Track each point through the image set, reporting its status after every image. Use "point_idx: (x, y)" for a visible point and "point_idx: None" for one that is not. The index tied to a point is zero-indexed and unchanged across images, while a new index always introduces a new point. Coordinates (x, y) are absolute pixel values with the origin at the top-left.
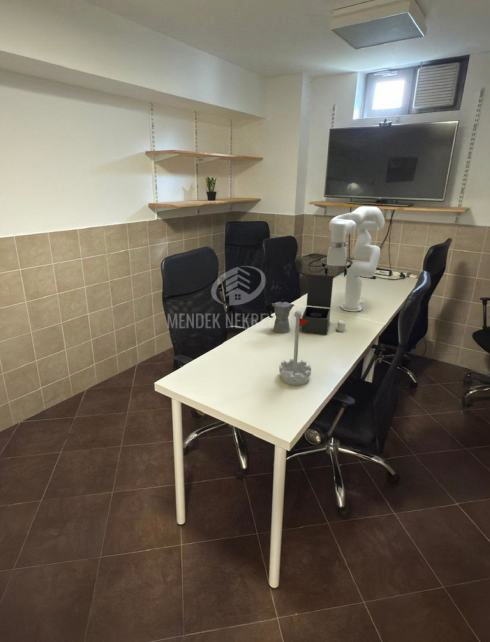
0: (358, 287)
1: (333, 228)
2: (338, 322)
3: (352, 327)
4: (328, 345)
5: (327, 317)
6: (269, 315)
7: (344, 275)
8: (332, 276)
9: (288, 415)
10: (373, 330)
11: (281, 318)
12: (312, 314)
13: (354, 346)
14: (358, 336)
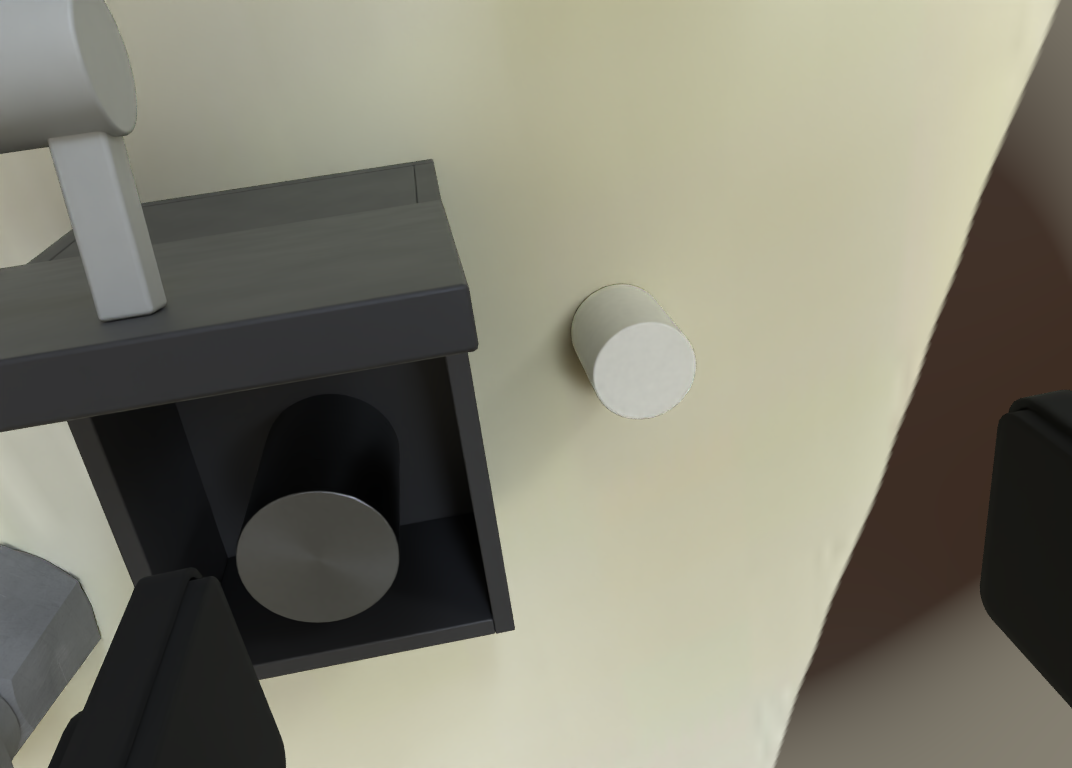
0: None
1: None
2: (606, 407)
3: (736, 182)
4: (561, 693)
5: (494, 574)
6: None
7: (1033, 638)
8: (443, 352)
9: None
10: (971, 165)
11: None
12: (275, 583)
13: (771, 614)
14: (804, 403)
